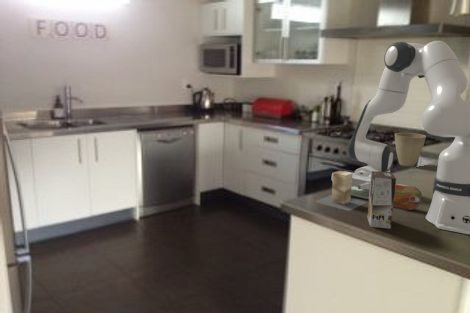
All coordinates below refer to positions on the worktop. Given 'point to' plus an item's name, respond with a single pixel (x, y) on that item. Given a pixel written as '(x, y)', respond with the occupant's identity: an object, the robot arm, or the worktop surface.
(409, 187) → the tin
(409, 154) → the plant pot
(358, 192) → the board
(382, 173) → the coffee box
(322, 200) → the tile
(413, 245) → the worktop surface
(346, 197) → the beech block
